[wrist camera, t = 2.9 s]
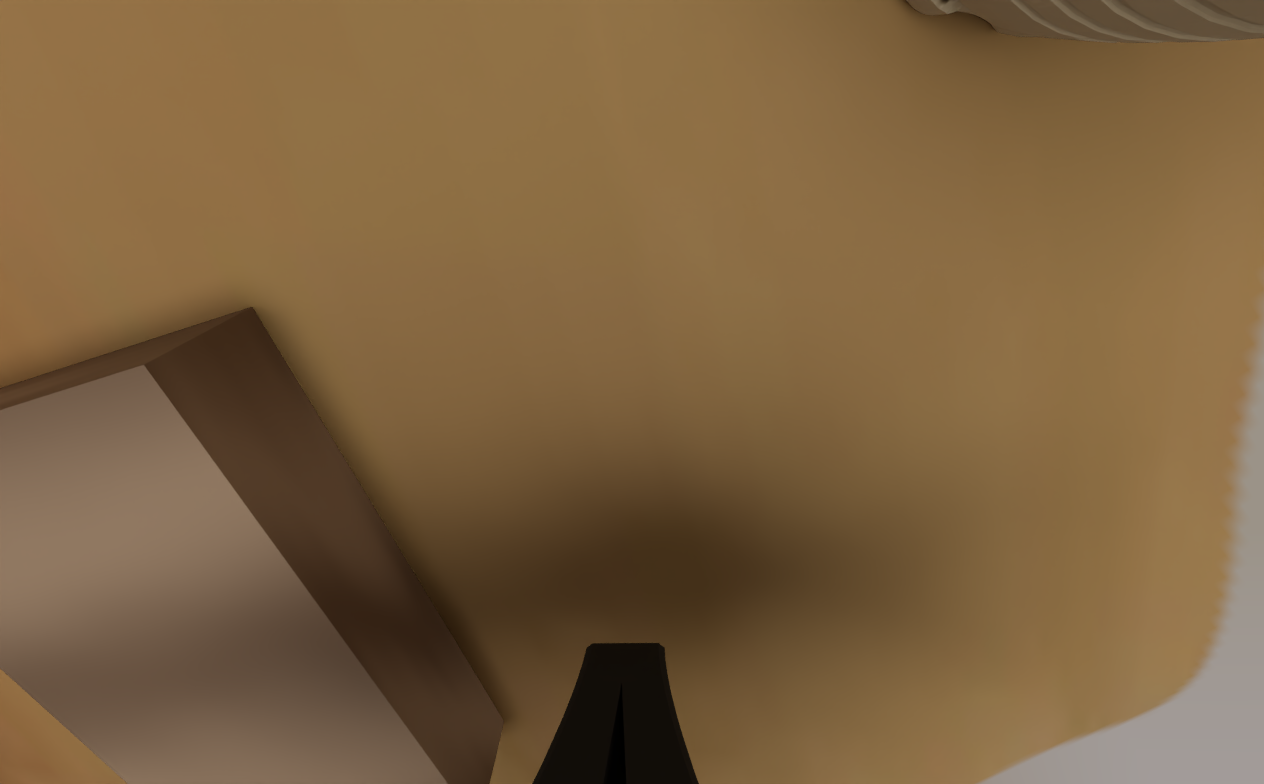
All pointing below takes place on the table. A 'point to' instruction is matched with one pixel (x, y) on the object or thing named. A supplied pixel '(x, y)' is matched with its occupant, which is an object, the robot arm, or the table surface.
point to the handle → (1114, 18)
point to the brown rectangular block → (219, 579)
